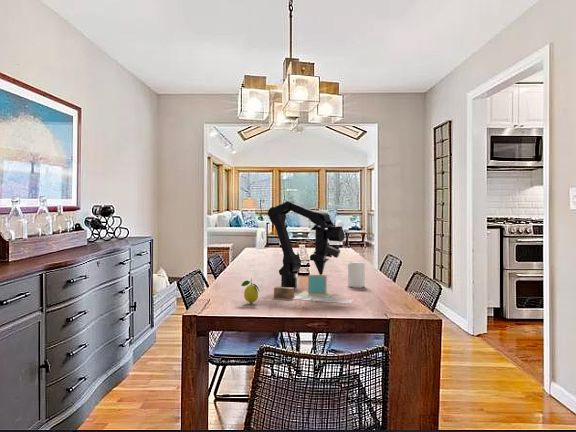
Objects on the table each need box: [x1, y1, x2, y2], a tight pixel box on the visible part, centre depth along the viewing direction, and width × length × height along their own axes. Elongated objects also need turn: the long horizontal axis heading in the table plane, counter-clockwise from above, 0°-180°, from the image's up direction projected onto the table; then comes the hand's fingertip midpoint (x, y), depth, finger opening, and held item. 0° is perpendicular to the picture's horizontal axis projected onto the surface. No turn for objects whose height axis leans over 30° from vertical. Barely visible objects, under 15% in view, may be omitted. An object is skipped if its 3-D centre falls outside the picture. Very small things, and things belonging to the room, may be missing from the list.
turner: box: [273, 286, 315, 302], centre depth 217 cm, size 16×7×4 cm, turn 73°
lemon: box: [241, 278, 261, 305], centre depth 206 cm, size 7×6×10 cm
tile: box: [307, 274, 328, 294], centre depth 229 cm, size 8×2×8 cm, turn 73°
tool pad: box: [311, 297, 355, 304], centre depth 213 cm, size 16×8×1 cm, turn 73°
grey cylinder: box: [347, 260, 366, 289], centre depth 250 cm, size 8×8×12 cm
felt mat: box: [296, 290, 335, 298], centre depth 225 cm, size 14×12×1 cm
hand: (320, 274), depth 235 cm, fingers closed
